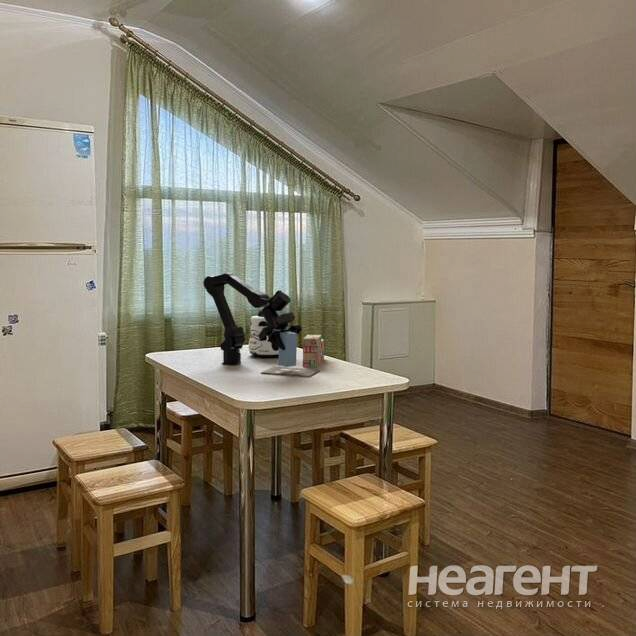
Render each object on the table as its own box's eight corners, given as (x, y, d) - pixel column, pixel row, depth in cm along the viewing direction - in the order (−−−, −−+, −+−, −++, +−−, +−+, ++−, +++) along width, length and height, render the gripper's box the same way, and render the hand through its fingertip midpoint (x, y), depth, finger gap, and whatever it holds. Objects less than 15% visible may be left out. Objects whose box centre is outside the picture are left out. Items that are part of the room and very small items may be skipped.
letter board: (260, 373, 255) (260, 372, 255) (273, 367, 268) (273, 366, 268) (309, 377, 249) (309, 375, 249) (319, 371, 262) (320, 369, 262)
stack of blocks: (310, 358, 293) (310, 331, 292) (324, 359, 292) (324, 332, 291) (302, 367, 272) (302, 337, 271) (317, 367, 271) (317, 338, 270)
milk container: (243, 357, 292) (243, 318, 291) (255, 352, 309) (255, 314, 307) (279, 359, 288) (280, 319, 287) (290, 354, 305) (291, 316, 303)
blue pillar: (278, 365, 258) (279, 332, 256) (288, 363, 261) (288, 331, 260) (286, 366, 254) (287, 334, 253) (296, 365, 257) (297, 333, 256)
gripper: (263, 306, 252) (280, 338, 245) (299, 304, 264) (317, 334, 257) (250, 325, 258) (267, 356, 251) (286, 322, 271) (303, 351, 264)
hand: (289, 349), depth 256 cm, fingers closed on blue pillar, 5 cm apart
